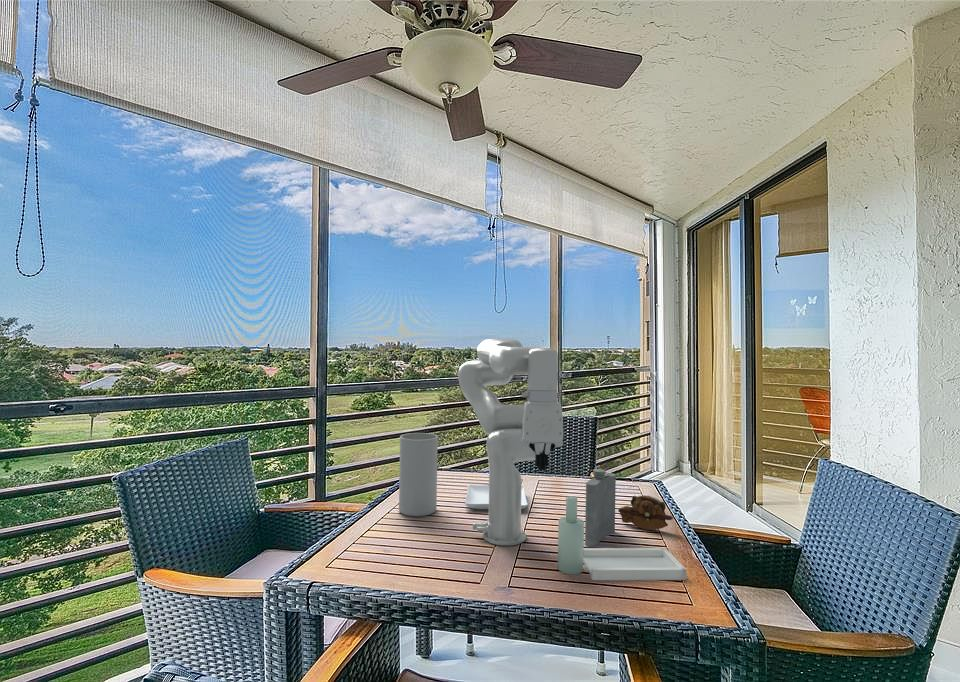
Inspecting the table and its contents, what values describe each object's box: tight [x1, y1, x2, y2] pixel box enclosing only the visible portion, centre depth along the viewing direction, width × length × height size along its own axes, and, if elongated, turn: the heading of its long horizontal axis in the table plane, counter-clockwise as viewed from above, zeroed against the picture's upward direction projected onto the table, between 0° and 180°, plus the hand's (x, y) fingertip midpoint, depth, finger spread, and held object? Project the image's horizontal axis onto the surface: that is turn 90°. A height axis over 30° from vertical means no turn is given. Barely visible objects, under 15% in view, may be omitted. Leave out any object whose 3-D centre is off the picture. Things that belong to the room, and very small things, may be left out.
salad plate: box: [464, 484, 529, 511], centre depth 181 cm, size 21×21×3 cm
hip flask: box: [584, 468, 617, 548], centre depth 150 cm, size 16×4×20 cm, turn 142°
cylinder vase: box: [398, 432, 439, 518], centre depth 171 cm, size 12×12×25 cm
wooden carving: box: [618, 495, 674, 531], centre depth 158 cm, size 16×5×10 cm, turn 64°
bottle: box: [557, 495, 585, 575], centre depth 130 cm, size 6×6×18 cm
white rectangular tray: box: [583, 547, 688, 581], centre depth 130 cm, size 23×13×2 cm, turn 93°
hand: (541, 469), depth 129 cm, fingers closed
